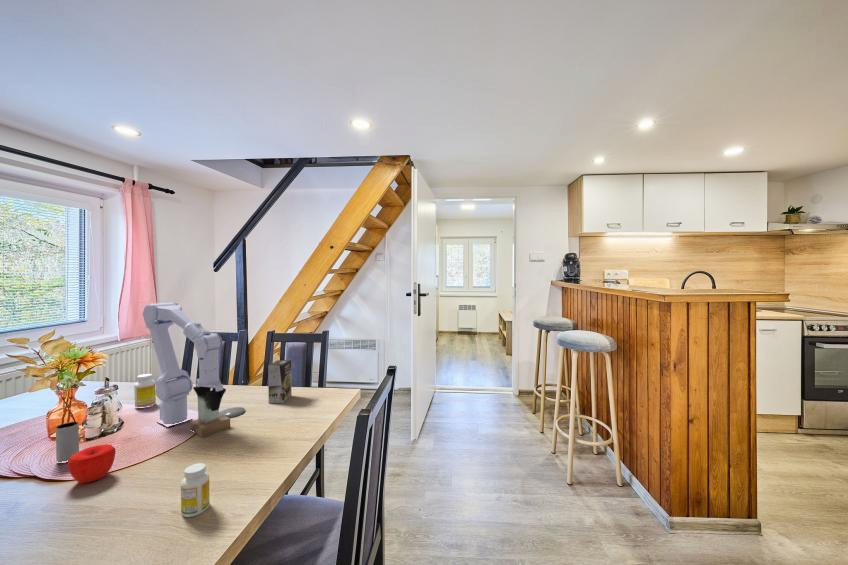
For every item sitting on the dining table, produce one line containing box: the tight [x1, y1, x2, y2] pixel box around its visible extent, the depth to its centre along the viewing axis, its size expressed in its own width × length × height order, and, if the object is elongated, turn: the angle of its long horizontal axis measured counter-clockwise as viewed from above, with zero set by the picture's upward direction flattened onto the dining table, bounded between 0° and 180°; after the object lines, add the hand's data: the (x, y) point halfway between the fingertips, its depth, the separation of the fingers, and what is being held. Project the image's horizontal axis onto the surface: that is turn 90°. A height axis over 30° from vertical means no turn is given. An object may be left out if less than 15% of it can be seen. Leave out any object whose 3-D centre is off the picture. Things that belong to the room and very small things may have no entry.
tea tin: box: [197, 394, 220, 425], centre depth 116 cm, size 5×5×9 cm
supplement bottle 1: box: [133, 373, 157, 408], centre depth 138 cm, size 7×7×13 cm
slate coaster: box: [219, 406, 246, 419], centre depth 130 cm, size 9×9×1 cm
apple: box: [67, 443, 116, 484], centre depth 88 cm, size 9×9×8 cm
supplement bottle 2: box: [180, 462, 210, 518], centre depth 76 cm, size 5×5×10 cm
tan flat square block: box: [189, 414, 231, 438], centre depth 117 cm, size 9×9×3 cm
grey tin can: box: [55, 421, 80, 462], centre depth 97 cm, size 4×4×10 cm
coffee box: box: [267, 359, 293, 404], centre depth 144 cm, size 9×6×16 cm
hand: (209, 407), depth 117 cm, fingers open, 7 cm apart
